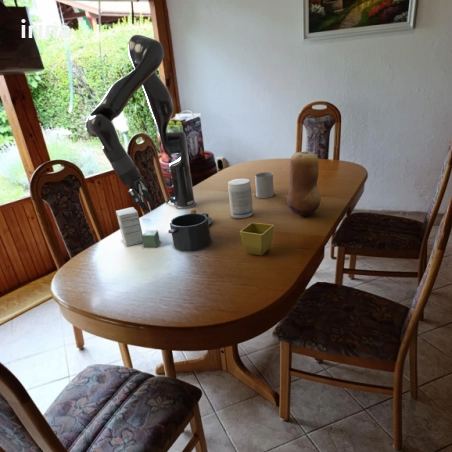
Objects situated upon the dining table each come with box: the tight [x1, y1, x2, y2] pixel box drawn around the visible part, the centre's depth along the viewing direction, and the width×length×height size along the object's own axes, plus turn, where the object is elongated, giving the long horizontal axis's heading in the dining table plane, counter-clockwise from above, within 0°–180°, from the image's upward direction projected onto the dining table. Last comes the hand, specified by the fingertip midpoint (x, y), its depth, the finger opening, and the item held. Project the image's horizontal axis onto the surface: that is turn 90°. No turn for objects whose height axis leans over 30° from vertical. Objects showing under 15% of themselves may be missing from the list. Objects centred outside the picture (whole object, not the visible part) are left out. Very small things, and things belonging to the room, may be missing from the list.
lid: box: [189, 207, 213, 226], centre depth 168 cm, size 15×15×7 cm
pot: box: [167, 212, 212, 253], centre depth 150 cm, size 14×19×10 cm
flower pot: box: [239, 221, 275, 256], centre depth 138 cm, size 9×9×9 cm
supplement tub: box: [227, 178, 254, 219], centre depth 170 cm, size 10×10×15 cm
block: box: [142, 229, 161, 249], centre depth 154 cm, size 5×5×5 cm
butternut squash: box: [286, 150, 322, 218], centre depth 161 cm, size 14×13×25 cm
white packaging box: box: [115, 206, 143, 247], centre depth 157 cm, size 7×7×13 cm
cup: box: [254, 171, 275, 199], centre depth 192 cm, size 8×8×10 cm
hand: (148, 205), depth 157 cm, fingers open, 8 cm apart
